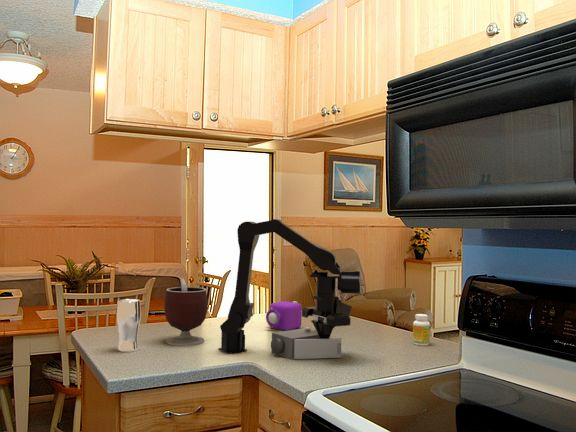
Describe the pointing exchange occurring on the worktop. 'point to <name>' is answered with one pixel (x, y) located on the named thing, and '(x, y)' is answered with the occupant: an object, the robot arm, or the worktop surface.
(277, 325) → the toy camera
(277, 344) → the box
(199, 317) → the mate gourd
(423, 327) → the supplement bottle
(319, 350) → the camera door
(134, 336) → the beer glass
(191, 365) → the worktop surface
